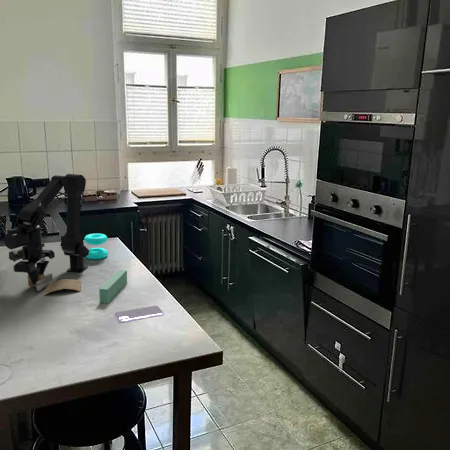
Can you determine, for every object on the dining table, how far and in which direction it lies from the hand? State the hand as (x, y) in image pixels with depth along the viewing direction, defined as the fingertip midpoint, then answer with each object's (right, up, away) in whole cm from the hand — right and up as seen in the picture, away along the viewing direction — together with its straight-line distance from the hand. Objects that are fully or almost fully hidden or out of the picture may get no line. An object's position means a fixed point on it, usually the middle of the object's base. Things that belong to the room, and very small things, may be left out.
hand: (36, 282), depth 169 cm
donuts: (+12, +7, +37) cm, 40 cm away
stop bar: (+30, -3, -3) cm, 30 cm away
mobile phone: (+42, -8, -21) cm, 47 cm away
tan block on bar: (+1, -1, 0) cm, 1 cm away
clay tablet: (+10, -3, -1) cm, 11 cm away
